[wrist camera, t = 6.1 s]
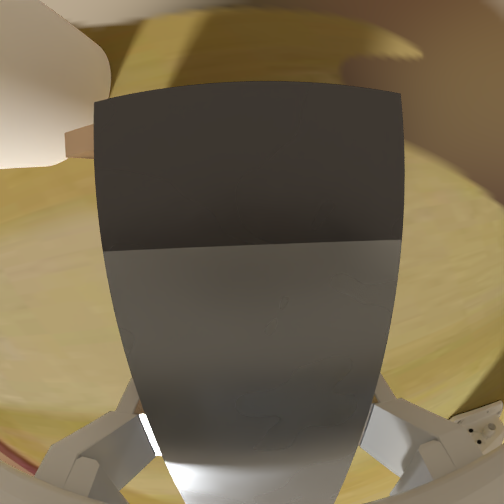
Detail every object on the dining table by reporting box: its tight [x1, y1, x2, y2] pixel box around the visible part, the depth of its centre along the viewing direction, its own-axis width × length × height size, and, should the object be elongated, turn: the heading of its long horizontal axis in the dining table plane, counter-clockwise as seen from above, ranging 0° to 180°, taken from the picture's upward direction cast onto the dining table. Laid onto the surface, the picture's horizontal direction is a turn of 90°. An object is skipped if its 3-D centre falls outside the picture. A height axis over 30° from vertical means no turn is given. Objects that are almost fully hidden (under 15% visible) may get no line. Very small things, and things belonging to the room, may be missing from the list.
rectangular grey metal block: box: [94, 81, 405, 504], centre depth 7 cm, size 4×14×5 cm, turn 2°
